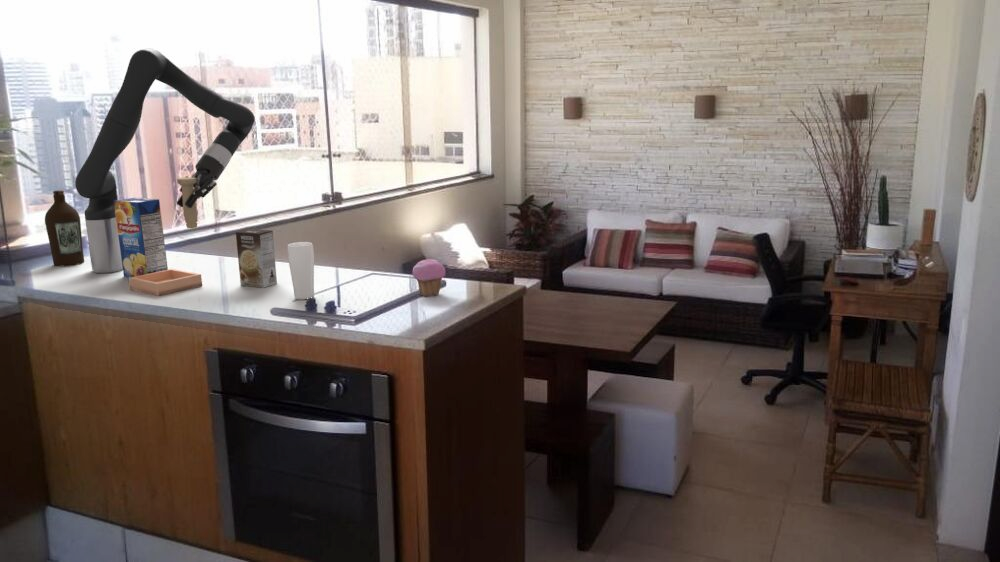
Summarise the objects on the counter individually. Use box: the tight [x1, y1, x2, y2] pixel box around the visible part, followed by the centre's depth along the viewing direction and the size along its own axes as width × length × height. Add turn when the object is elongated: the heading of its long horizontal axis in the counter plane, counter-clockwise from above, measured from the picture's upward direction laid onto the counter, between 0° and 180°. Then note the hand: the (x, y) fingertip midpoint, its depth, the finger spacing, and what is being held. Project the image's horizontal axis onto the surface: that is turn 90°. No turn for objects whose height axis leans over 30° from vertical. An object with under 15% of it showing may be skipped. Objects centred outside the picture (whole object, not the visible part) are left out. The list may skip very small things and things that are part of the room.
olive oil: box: [44, 189, 85, 267], centre depth 279 cm, size 11×11×25 cm
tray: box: [128, 268, 203, 297], centre depth 241 cm, size 15×14×4 cm
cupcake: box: [412, 258, 446, 297], centre depth 223 cm, size 9×9×10 cm
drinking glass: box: [287, 241, 315, 301], centre depth 223 cm, size 7×7×15 cm
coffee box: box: [235, 228, 278, 289], centre depth 241 cm, size 9×6×16 cm
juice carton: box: [114, 197, 169, 278], centre depth 256 cm, size 12×8×24 cm, turn 59°
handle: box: [176, 176, 198, 229], centre depth 249 cm, size 5×6×15 cm
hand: (183, 205), depth 247 cm, fingers closed on handle, 3 cm apart
